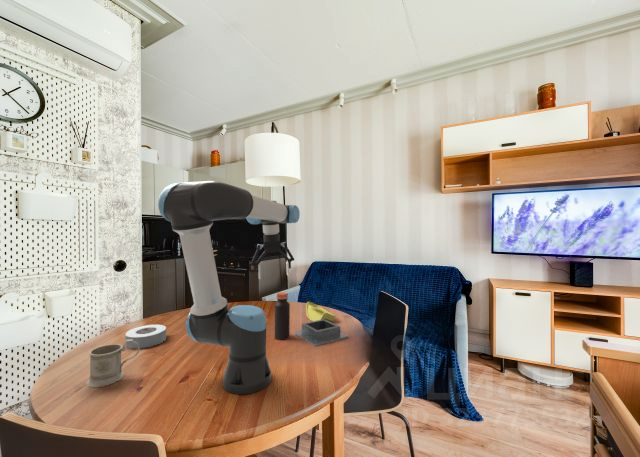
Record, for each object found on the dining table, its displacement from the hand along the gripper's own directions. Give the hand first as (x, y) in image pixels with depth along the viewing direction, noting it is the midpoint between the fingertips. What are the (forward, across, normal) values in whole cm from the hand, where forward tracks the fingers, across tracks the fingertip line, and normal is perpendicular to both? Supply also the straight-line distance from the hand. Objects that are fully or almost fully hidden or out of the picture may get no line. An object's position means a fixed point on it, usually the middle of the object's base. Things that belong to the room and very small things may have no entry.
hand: (274, 276), depth 135 cm
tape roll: (+23, +57, 0) cm, 62 cm away
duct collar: (+27, -18, +13) cm, 35 cm away
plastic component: (+31, -25, -12) cm, 41 cm away
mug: (+19, +57, +32) cm, 68 cm away
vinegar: (+26, -1, +11) cm, 28 cm away
